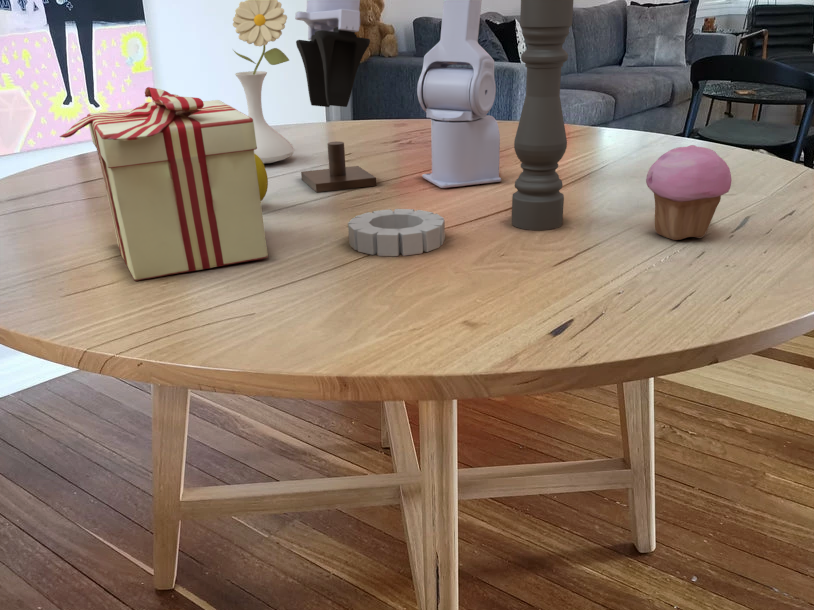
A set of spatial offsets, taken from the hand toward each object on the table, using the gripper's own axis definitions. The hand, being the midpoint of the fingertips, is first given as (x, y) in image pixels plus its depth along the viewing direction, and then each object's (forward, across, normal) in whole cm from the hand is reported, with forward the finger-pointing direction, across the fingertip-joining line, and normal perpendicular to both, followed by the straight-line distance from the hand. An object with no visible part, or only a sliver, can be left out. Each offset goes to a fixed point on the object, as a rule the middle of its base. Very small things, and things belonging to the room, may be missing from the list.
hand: (328, 106), depth 93 cm
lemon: (+14, -16, -6) cm, 22 cm away
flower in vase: (+9, -46, +2) cm, 47 cm away
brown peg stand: (+10, -26, +9) cm, 29 cm away
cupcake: (+11, +17, +37) cm, 43 cm away
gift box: (+18, 0, -16) cm, 24 cm away
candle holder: (+11, +6, +25) cm, 28 cm away
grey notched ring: (+14, +6, +7) cm, 17 cm away
